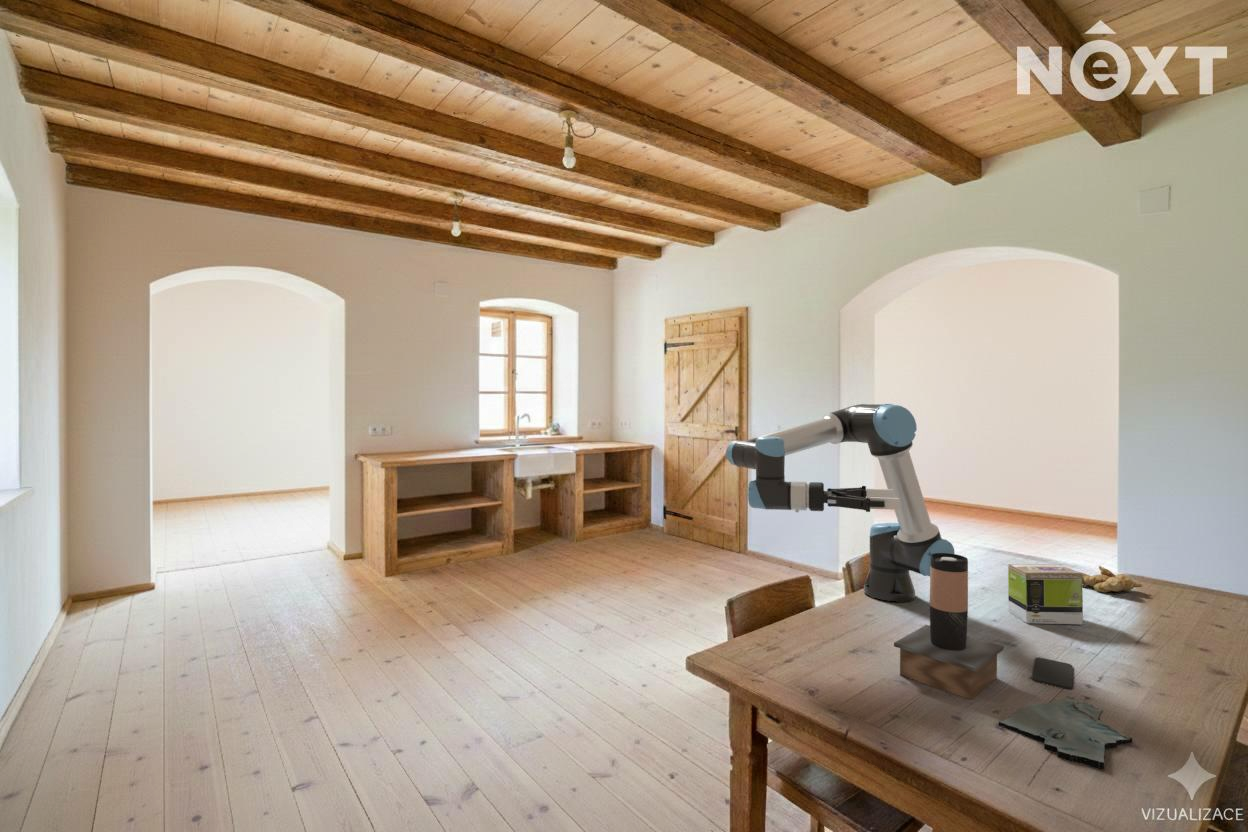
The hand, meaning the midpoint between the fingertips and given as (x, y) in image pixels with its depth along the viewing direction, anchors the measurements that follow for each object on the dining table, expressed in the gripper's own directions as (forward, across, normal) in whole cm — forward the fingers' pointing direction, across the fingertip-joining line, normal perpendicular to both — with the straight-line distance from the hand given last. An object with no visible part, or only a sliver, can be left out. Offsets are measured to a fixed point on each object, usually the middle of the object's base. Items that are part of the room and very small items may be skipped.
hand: (896, 499), depth 152 cm
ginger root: (+71, -71, -40) cm, 108 cm away
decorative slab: (+26, +32, -39) cm, 56 cm away
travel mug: (+9, +14, -31) cm, 35 cm away
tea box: (+42, -35, -39) cm, 67 cm away
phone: (+32, +5, -39) cm, 51 cm away
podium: (+9, +14, -38) cm, 42 cm away
